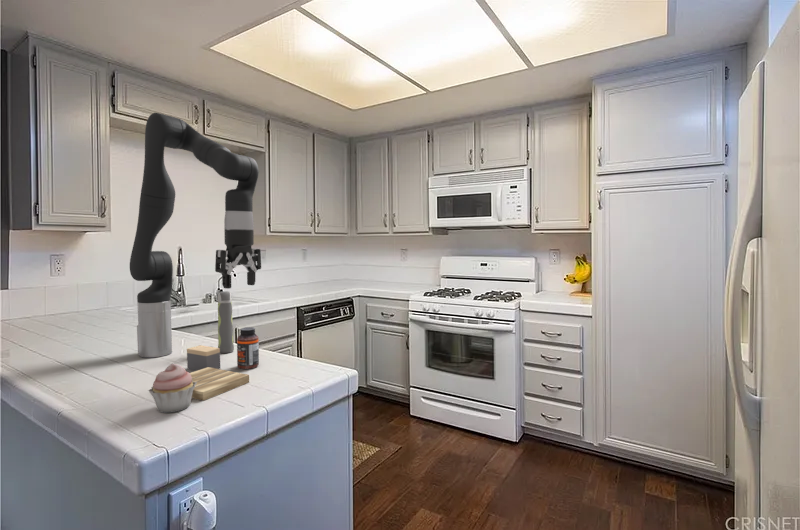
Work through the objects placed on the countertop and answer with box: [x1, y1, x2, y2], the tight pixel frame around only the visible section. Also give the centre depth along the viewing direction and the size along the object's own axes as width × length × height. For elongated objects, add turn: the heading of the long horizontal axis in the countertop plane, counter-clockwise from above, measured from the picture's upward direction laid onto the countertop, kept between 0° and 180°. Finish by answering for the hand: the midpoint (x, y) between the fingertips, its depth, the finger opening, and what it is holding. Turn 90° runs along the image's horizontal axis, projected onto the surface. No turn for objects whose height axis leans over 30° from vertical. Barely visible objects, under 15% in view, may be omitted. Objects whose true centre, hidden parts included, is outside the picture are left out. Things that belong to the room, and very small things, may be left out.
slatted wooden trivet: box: [189, 367, 250, 402], centre depth 107 cm, size 15×14×2 cm
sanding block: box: [186, 344, 221, 372], centre depth 121 cm, size 8×4×6 cm, turn 64°
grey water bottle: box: [217, 290, 235, 354], centre depth 139 cm, size 5×5×20 cm
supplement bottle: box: [236, 326, 260, 370], centre depth 123 cm, size 6×6×11 cm
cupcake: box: [147, 363, 197, 414], centre depth 93 cm, size 9×9×10 cm
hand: (239, 286), depth 118 cm, fingers open, 8 cm apart
